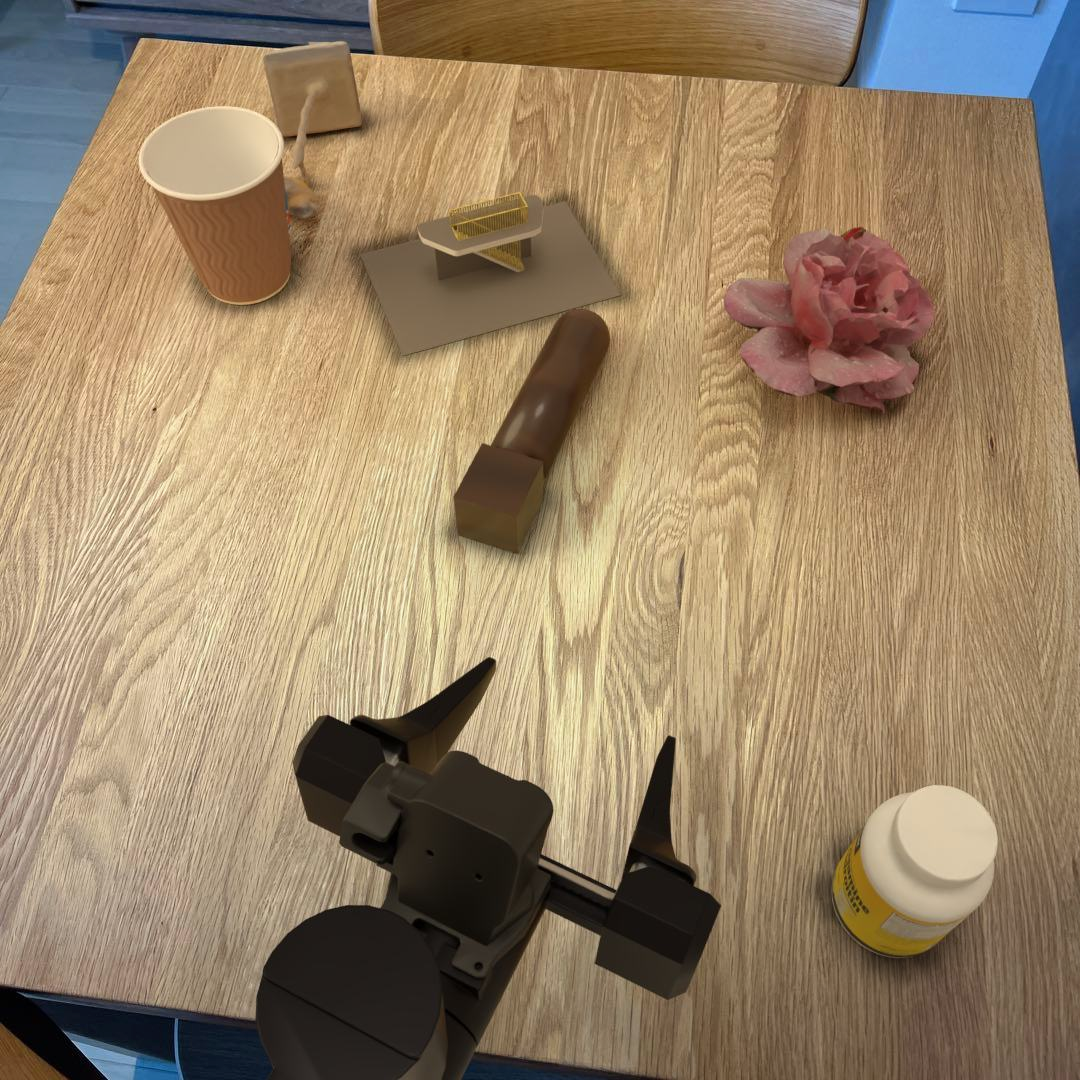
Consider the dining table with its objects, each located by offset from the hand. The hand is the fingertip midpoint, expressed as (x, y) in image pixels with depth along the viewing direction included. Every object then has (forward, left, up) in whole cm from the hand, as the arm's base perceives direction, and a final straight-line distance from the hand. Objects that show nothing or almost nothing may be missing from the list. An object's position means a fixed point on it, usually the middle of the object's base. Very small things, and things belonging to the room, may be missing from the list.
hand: (580, 700), depth 53 cm
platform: (+40, +22, -16) cm, 48 cm away
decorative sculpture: (+46, +43, -16) cm, 65 cm away
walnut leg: (+26, +12, -15) cm, 32 cm away
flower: (+40, -5, -16) cm, 43 cm away
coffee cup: (+33, +40, -16) cm, 54 cm away
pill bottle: (+2, -18, -16) cm, 24 cm away
